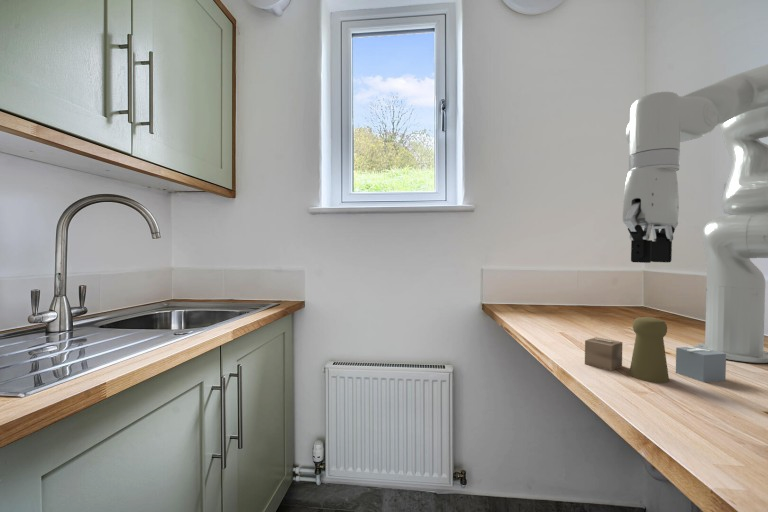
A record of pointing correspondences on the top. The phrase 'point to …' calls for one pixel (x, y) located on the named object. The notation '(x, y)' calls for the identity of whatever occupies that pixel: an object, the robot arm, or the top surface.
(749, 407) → the top surface
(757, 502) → the top surface
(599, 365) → the walnut numeral block
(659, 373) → the cork
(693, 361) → the slate numeral block
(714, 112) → the robot arm
